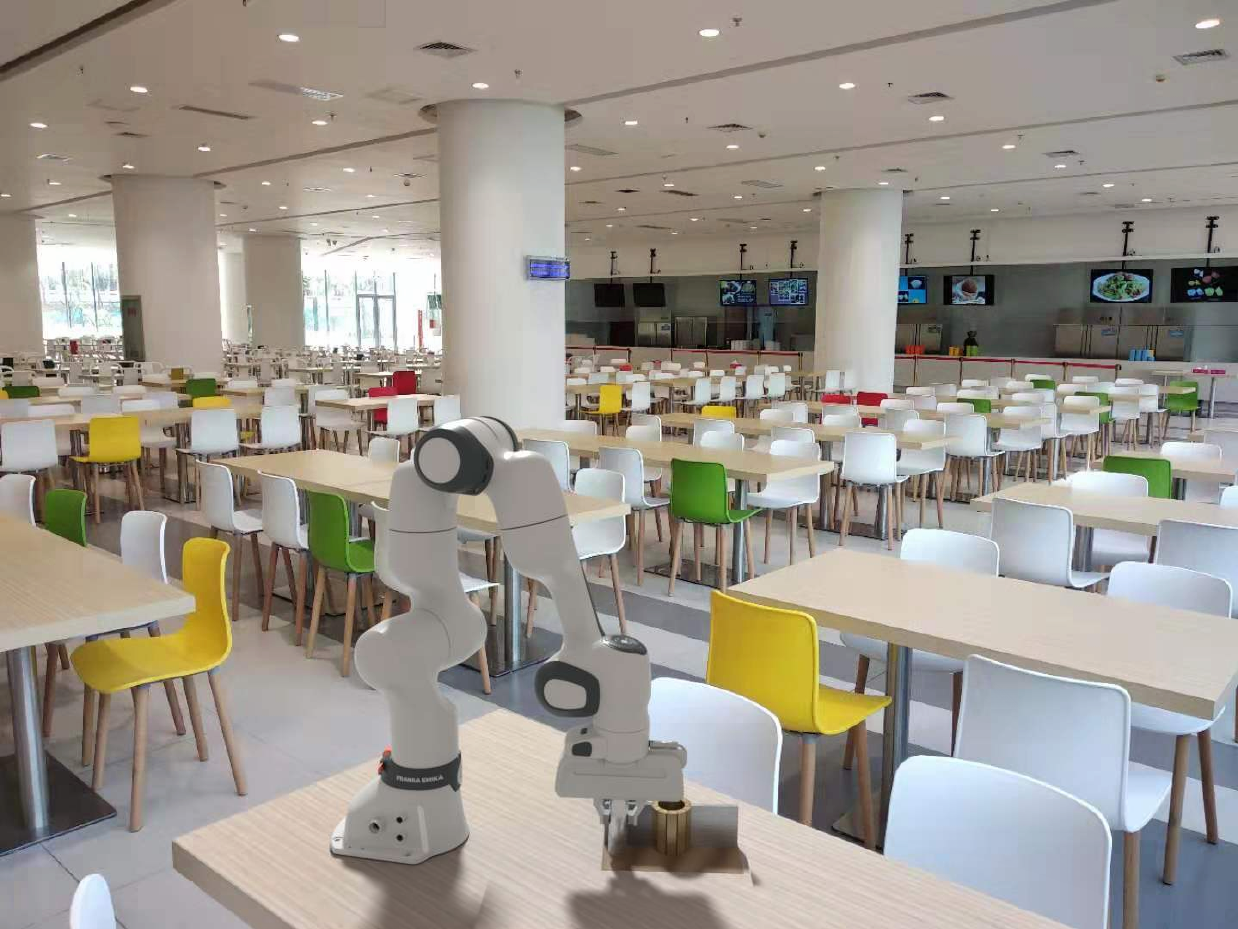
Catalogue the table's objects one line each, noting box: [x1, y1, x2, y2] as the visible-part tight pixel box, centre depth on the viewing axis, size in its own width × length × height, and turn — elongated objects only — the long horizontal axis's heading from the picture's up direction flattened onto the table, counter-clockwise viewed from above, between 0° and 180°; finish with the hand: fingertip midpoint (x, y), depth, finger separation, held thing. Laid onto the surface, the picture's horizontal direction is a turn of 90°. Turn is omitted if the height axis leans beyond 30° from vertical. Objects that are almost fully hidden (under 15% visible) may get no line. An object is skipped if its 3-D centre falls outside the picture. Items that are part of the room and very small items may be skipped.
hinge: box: [603, 796, 739, 855], centre depth 155 cm, size 22×6×7 cm, turn 89°
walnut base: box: [600, 830, 744, 875], centre depth 154 cm, size 22×12×2 cm, turn 89°
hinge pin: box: [608, 799, 629, 856], centre depth 150 cm, size 3×3×12 cm
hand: (618, 823), depth 150 cm, fingers closed on hinge pin, 3 cm apart
